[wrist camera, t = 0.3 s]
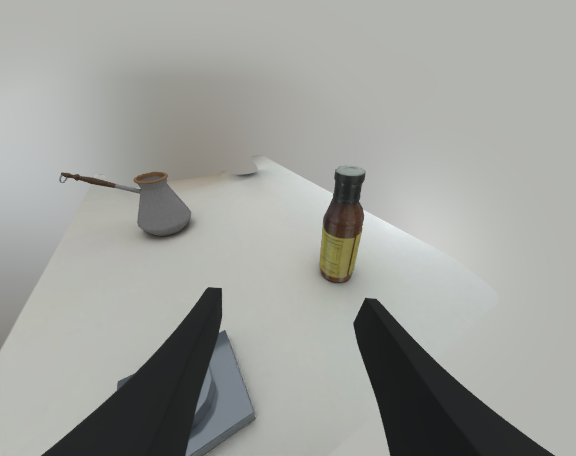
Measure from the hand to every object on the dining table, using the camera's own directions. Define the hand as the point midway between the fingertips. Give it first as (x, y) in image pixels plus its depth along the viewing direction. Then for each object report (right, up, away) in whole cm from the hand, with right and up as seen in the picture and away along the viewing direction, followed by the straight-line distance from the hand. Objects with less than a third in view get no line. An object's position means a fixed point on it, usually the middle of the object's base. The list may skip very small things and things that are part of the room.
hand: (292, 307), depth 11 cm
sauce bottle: (+9, -5, +30) cm, 31 cm away
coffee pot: (-35, +3, +41) cm, 54 cm away
